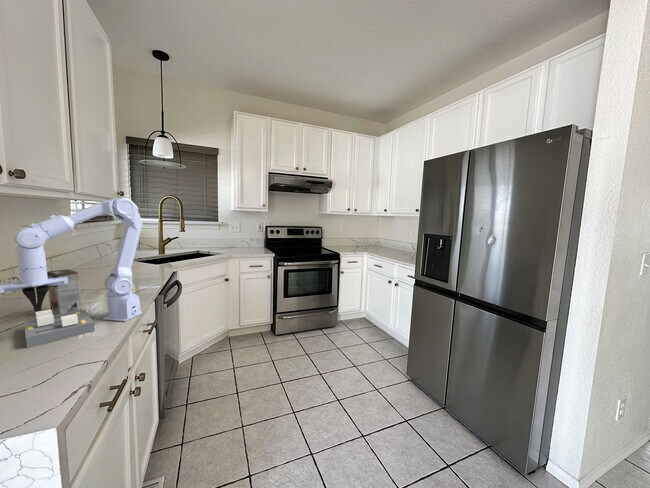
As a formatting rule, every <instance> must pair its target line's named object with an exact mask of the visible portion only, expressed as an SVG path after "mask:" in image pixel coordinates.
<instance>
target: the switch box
mask: <svg viewBox="0 0 650 488" xmlns="http://www.w3.org/2000/svg"><path fill="white" fill-rule="evenodd" d="M71 314H77V316H78V323H77V324H73V325H69V326H64V327H63V326H62V324H61V317H62V316H66V315H71ZM53 316H54V323H53V324H48V325H44V326H39V327H38V324H37V320H36V318H35V319H29V320H26V321H23V322H24V323H23V324H24V325H23V327H24V333H25V343H26V348H27V349H28V348H32V347H37V346H40V345H45V344H48V343H52V342H56V341H61V340H64V339H69V338H72V337H75V336H76V337H77V336H81V335H84V334H88V333H91V332H95V331H96V329H95V322H94V320H93V319H92V318H91V316H90V315H89V313H88V312H87V310H86V309H81V310H79V311H74V312H69V313H64V314H59V315H56V314H53Z"/></svg>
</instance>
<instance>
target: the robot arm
mask: <svg viewBox="0 0 650 488" xmlns="http://www.w3.org/2000/svg"><path fill="white" fill-rule="evenodd" d="M100 215H113V216H115V217H116V218H118V219H119V220H120V221H121V222H122V224H123V225H124V229H123V231H122V235H121V239H120V240H121V241H120V244H119V247H118V251H117V256H116V259H115V262H114V263H115V264H114V266H113V268H112V269H111V270H110V273H109V275H108V276H107V277H106V279H105V280H104V286H105V288H106V289H108V292H107V294H106V296H107V297H106V298H107V308H108V309H107V310H108V315H107V316H104V317H102V321H103V320H104V321H106V320H107V321H118V322H127V321H129V320H131V319H134V318H135V317H138V316H140V315H142V314H143V311H142V310H141V300H140V296H139V295H138V294H135V293H133V292H132V290H133V287H134V284H133V281H132V278H133V271H132V266H133V263H134V259H135V255H136V252H137V251H136V250H137V247H138V243H139V239H140V235H141V232H142V228H143V220H142V218H141V215H140V211H139V206H137V205H136V203H134V202H133V200H131V199H129V198H127V197H121V198H111V199H110V200H104V201H101V202H98V203H95V204H93V205H91V206H88V207H86V208H83V209H81V210H79V211H77V212H74V213H72V214H70V215H68V216H66V215H62V214H61V215H60V214H58V215H54V214H52V215H50V216H48V218H47V219H46V220H43V221H40V222H38V223H34V222H33V223H31V224H29V226H30V227H25V228H24V227H23V228H21V229H18V230H17V231H16V233H15V234H14V237H13V240H14V241H15V243H16V244H17V247H16V251H17V253H16V257H17V265H18V266H17V267H18V272H19V280H20V281H18V282H13V283H7V284H0V294H3V293H7V292H13V291H22V294H23V295H24V296H25V297H26V298H27V299H28V301H30V304H31V305H32V307H33V311H34V312H35V313H36V312H39V311H42V307H43V302H44V299H45V297H46V295H47V293H48V292H49V290H48V286H52V285H59V284H68V278H67V277H62V278H50V279H48V275H47V272H48V268H47V267H48V266H47V258H46V252H45V249H44V248H45V247H44V244H45V242H46V241H51V240H53V239H55V238H58V237H60V236H62V235H65V234H67V233H69V232H72V231H73V230H74V227H75V225H78V224H81V223H83V222H85V221H88V220H91V219H93V218H95V217H98V216H100Z"/></svg>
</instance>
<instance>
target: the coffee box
mask: <svg viewBox="0 0 650 488" xmlns="http://www.w3.org/2000/svg"><path fill="white" fill-rule="evenodd" d="M47 275H48V279H50V278H62V277H67V278H68V284H59V285H52V286H48V296H49V305H50V309H51V311H52V313H53V315H59V314H64V313H69V312H74V311H79V310H82V306H81V305H82V304H81V303H82V302H81V295H80V294H81V291H80V282H79V271H75V270H71V269H68V268H67V269H57V270H51V271H50V270H49V271H47Z"/></svg>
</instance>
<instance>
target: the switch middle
mask: <svg viewBox="0 0 650 488" xmlns="http://www.w3.org/2000/svg"><path fill="white" fill-rule="evenodd" d="M53 323H54V313H52V314H47V315H42V316H37V324H38V327H39V326H44V325H48V324H53Z"/></svg>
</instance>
